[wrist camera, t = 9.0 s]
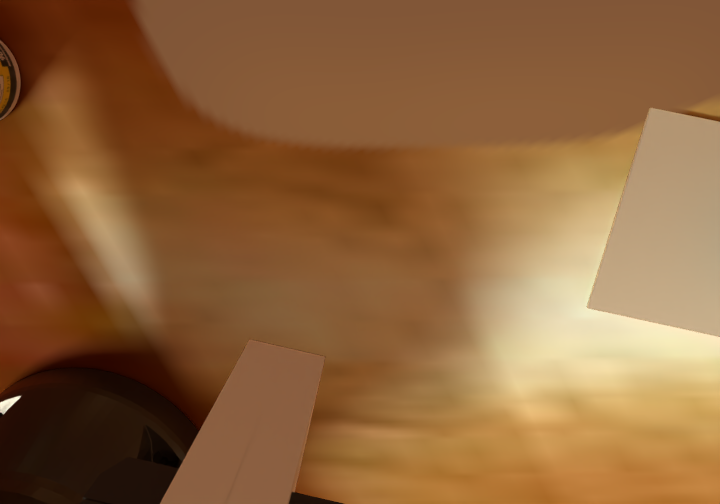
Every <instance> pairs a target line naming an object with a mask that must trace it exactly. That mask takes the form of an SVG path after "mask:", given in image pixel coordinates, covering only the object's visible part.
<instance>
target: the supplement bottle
mask: <svg viewBox="0 0 720 504" xmlns="http://www.w3.org/2000/svg"><path fill="white" fill-rule="evenodd" d="M20 87H21V79H20V72H19V68H18V65H17V62H16V60H15V58H14V56H13V54H12V53H11V51H10V50H9V49H8V47H7V46H6V45H5V44H4V43H3V42H2V41H1V40H0V120H1V119H3V118H4V117H6V116H7V115H8V114H9V113H10V112H11V111H12V110H13V108H14V107H15V105H16V103H17V100H18V98H19V94H20Z"/></svg>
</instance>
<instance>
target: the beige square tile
mask: <svg viewBox="0 0 720 504" xmlns="http://www.w3.org/2000/svg"><path fill="white" fill-rule="evenodd" d="M587 308H589V309H594V310H598V311H603V312H608V313H612V314H617V315H621V316H626V317H631V318H635V319H640V320H645V321H649V322H654V323H658V324H663V325H668V326H672V327H677V328H681V329H686V330H691V331H695V332H700V333H704V334H709V335H714V336H718V337H720V122H719V121H714V120H709V119H704V118H699V117H694V116H690V115H685V114H680V113H675V112H670V111H665V110H660V109H656V108H651V107H650V108H649V111H648V114H647V118H646V120H645V124H644V127H643V130H642V133H641V136H640V139H639V143H638V146H637V149H636V152H635V155H634V158H633V162H632V165H631V168H630V171H629V174H628V177H627V181H626V184H625V187H624V190H623V193H622V196H621V199H620V203H619V206H618V209H617V212H616V215H615V218H614V222H613V225H612V228H611V231H610V234H609V237H608V241H607V244H606V247H605V250H604V253H603V256H602V260H601V263H600V266H599V269H598V272H597V275H596V279H595V282H594V285H593V288H592V291H591V294H590V298H589V301H588V304H587Z"/></svg>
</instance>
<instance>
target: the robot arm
mask: <svg viewBox="0 0 720 504" xmlns="http://www.w3.org/2000/svg"><path fill="white" fill-rule="evenodd" d="M324 361H325V356H321V355H316V354H312V353H307V352H303V351H299V350H294V349H290V348H286V347H281V346H277V345H273V344H268V343H264V342H259V341H255V340H251V339H249V341H248V343H247V345H246V347H245V348H244V350H243V352H242V354H241V356H240V358H239V359H238V361H237V363H236V365H235V367H234V369H233V370H232V372H231V374H230V376H229V378H228V380H227V381H226V383H225V385H224V387H223V389H222V391H221V392H220V394H219V396H218V398H217V400H216V402H215V403H214V405H213V407H212V409H211V411H210V413H209V414H208V416H207V418H206V420H205V422H204V424H203V425H202V427H201V429H200V431H199V432H198V430H197V429H196V428H195V427H194V425H193V424H192V423H191V422H190V421H189V419H188V418H187V417H186V416H185V415H184V414H183V413H182V412H181V411H180V410H179V409H178V408H176V407H175V406H174V405H173V404H172V403H171V402H169V401H168V400H167V399H165V398H164V397H163V396H161V395H160V394H158V393H156V392H155V391H153V390H152V389H150V388H148V387H146V386H144V385H142V384H140V383H138V382H136V381H134V380H131V379H129V378H126V377H124V376H121V375H118V374H114V373H110V372H107V371H101V370H96V369H88V368H62V369H54V370H48V371H44V372H40V373H37V374H34V375H31V376H29V377H27V378H24V379H22V380H20V381H18V382H17V383H15V384H13V385H12V386H10V387H9V388H7V389H6V390H5V391H3V392H2V393H1V394H0V504H343V503H339V502H334V501H330V500H325V499H321V498H317V497H312V496H308V495H304V494H299V493H295V488H296V484H297V480H298V476H299V472H300V467H301V463H302V458H303V454H304V449H305V445H306V441H307V436H308V432H309V427H310V423H311V418H312V414H313V410H314V405H315V401H316V396H317V392H318V387H319V383H320V379H321V374H322V370H323V365H324Z"/></svg>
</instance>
